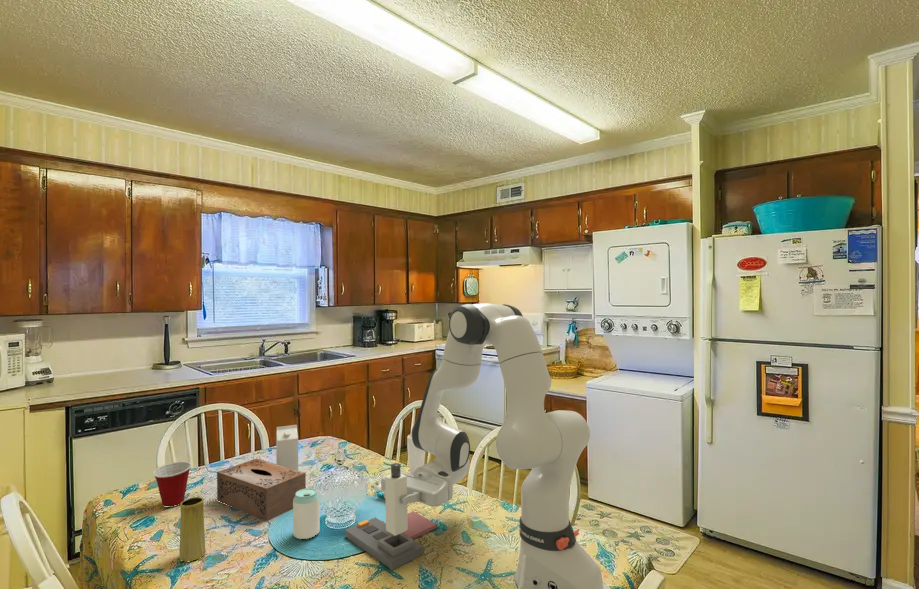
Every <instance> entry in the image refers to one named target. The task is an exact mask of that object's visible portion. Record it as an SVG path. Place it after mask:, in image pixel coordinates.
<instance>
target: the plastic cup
mask: <svg viewBox="0 0 919 589" xmlns="http://www.w3.org/2000/svg"><path fill="white" fill-rule="evenodd" d="M191 467H192V463H191V462H190V461H189V462H188V461H175V462H171V463H170V462H169V463H167V464H163V465H162V466H159V467H157V468H155V469H154V470H153V472H152V475H153V477H154V478H155V480H156V483H157V488H158V491H159V492H158V493H159V496H160V499H161V504H162V506H163V505H164V506H174V505H178V504H180V503H181V502H182V501H184V500H185V497H186V492H187V486H188V480H189V474H190V470H191Z"/></svg>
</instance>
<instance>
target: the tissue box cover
mask: <svg viewBox="0 0 919 589" xmlns="http://www.w3.org/2000/svg"><path fill="white" fill-rule="evenodd" d="M306 477H307V476H306V472H304V471H301V470H299V469H298V470H295V469H291V468H288V467H284V466H281V465H277V464H276V463H274V462H270V461H266V460H263V459H260V458H258V457H257V458H254V459H250V460H247V461H245V462H242V463H239V464H236V465H233V466H231V467H227V468H224V469H221V470H218V471H216V490H217V491H216V492H217V493H216V496H217V497H216V498H217V500H218V501H220V502H222V503H225V504H227V505H229V506H228V507H230V506H232V507H234V508H233V509H235V508H236V509H235V510H237V509H239V510H238V511H240V510H241V511H240V512H242V511H243V512H242V513H246V514H247V513H248V514H247V515H250V516H253V517H256V518H258V519H260V520H263V521H265V522H269V521H271V520H272V519H275V518H276V517H279V516H281V515H283V514H285V513H287V512H289V511H291V510H293V499H294V497H295V494H296V492H297V491H299V490H301V489H306V487H307V486H306V485H307V483H306V481H307V480H306ZM217 500H216V501H217ZM220 502H219V503H220ZM222 503H221V504H222ZM225 504H224V505H225ZM227 505H226V506H227ZM232 507H231V508H232Z"/></svg>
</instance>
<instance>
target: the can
mask: <svg viewBox="0 0 919 589" xmlns="http://www.w3.org/2000/svg"><path fill="white" fill-rule="evenodd" d="M292 512H293V513H292V517H293V519H292V522H293V523H292V525H293V527H292V528H293V529H292V530H293V533H292V534H293V537H294V538H296V539H298V540H301V539H306V540H310V539H312V537H313V538H315V535H316V536H317V535H318V534H319V533H320V531H321V530H320V519H321V518H320V495H319V493H318V490H317V489H316V488H312V487H307V488H306V489H301V490H299V491H297V492H296V494H295V497H294V499H293V509H292ZM309 538H310V539H309Z"/></svg>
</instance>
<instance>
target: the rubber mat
mask: <svg viewBox="0 0 919 589" xmlns="http://www.w3.org/2000/svg"><path fill="white" fill-rule="evenodd" d="M407 516H408V530H407V531H405V532H402V533H403V534H405V535H406V536H408V537H410V538H411V539H413V540H415V539H417V538H419V537H421V536H423V535H426V534H427V533H429V532H431V531H434V530H436V529H437V528H438V523H436V522H434V521H432V520H430V519H428V518H427V517H425V516H423V515H421V514H419V513H417V512H415V511H411V512H409V513H407Z"/></svg>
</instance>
